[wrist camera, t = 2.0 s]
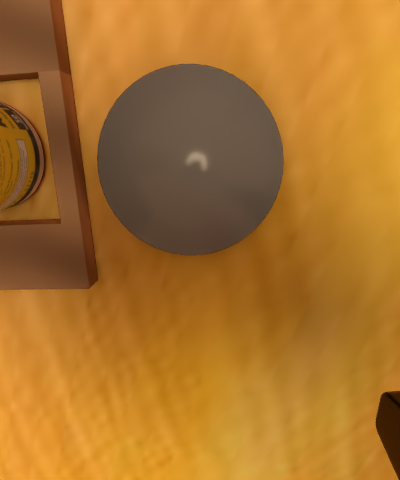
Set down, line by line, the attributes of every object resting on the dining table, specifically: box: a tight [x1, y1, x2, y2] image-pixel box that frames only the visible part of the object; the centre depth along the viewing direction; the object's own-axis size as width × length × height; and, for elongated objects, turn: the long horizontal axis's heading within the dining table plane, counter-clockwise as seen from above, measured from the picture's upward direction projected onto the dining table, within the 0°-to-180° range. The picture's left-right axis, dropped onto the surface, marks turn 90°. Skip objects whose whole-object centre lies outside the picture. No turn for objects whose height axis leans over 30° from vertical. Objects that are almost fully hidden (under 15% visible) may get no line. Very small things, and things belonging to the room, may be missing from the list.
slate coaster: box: [97, 64, 283, 255], centre depth 18 cm, size 9×9×1 cm
